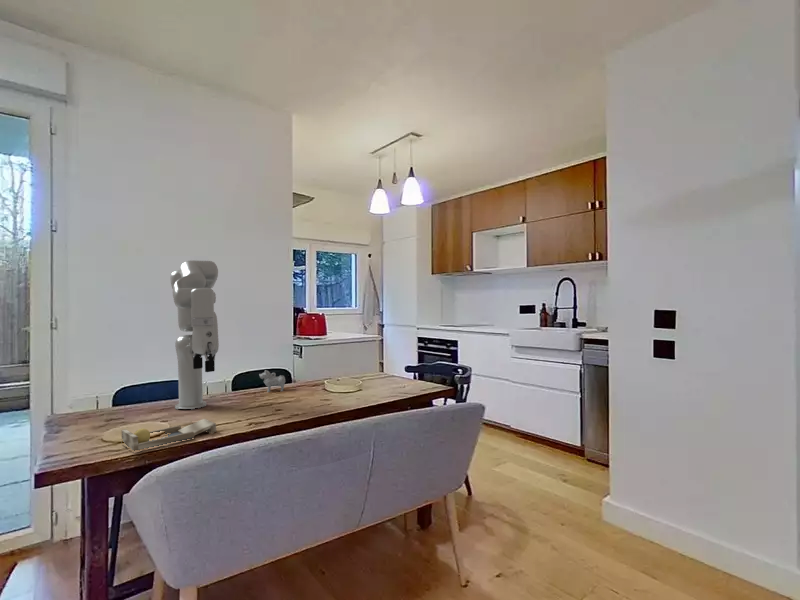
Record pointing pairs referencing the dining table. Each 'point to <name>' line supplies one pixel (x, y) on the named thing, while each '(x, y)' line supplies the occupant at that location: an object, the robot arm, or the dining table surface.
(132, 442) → the grey tray
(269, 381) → the grey dog figurine
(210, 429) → the ramp
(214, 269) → the robot arm
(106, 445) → the dining table surface
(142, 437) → the ball
